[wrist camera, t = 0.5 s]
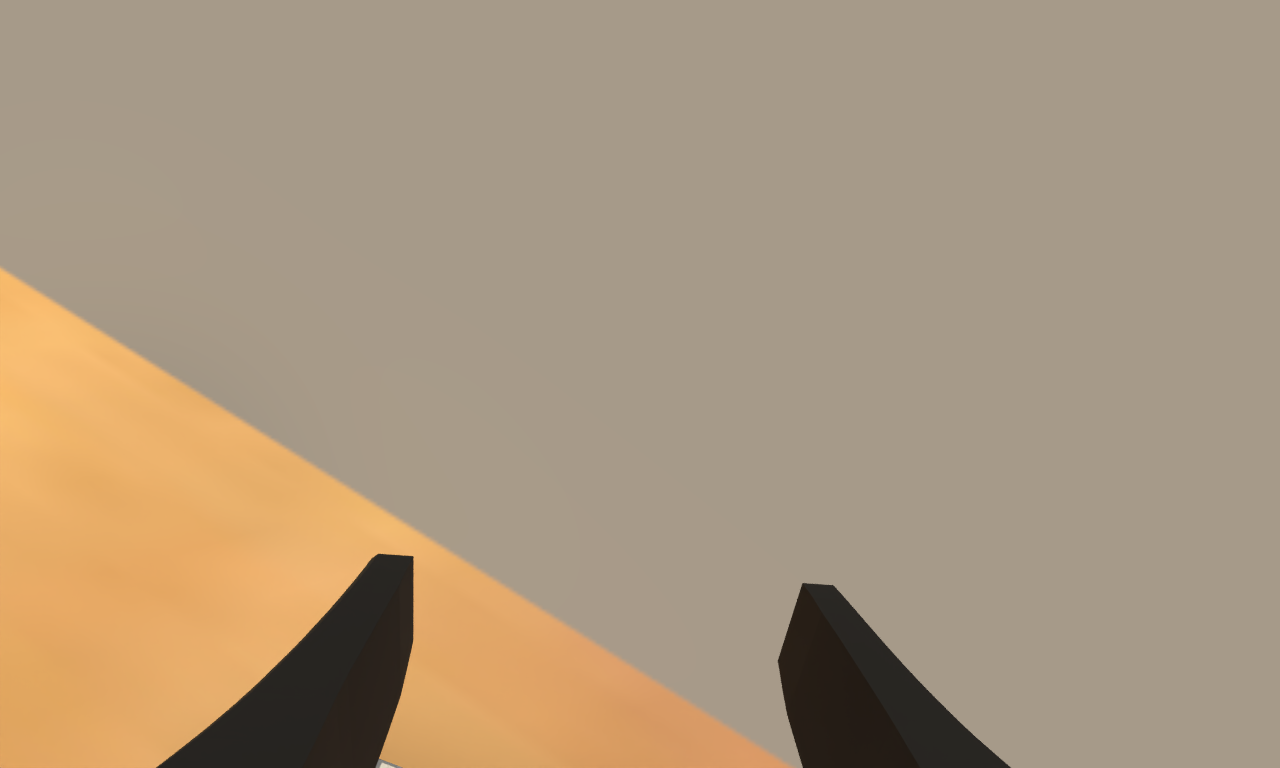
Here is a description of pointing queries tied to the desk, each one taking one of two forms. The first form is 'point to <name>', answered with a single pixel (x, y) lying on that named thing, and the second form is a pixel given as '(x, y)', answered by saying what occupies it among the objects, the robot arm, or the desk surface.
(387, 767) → the socket base
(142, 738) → the desk surface
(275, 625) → the desk surface
